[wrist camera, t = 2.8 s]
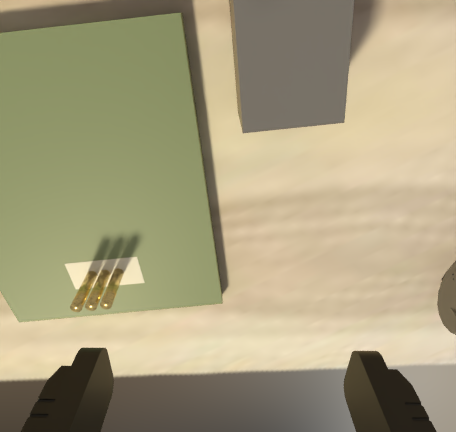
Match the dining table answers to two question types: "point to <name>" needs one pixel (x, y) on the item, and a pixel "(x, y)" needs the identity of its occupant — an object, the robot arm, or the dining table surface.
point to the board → (102, 169)
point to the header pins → (97, 290)
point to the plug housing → (291, 61)
